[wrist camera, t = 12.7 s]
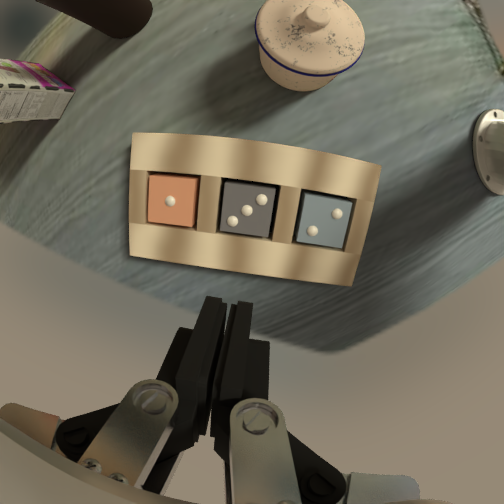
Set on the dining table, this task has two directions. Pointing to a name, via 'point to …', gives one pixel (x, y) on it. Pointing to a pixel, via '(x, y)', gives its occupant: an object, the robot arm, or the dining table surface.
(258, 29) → the teacup with lid
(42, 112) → the candy bar box
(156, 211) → the key one
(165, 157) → the wooden puzzle board
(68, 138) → the dining table surface
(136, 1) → the bottle
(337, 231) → the key two
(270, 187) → the key three
